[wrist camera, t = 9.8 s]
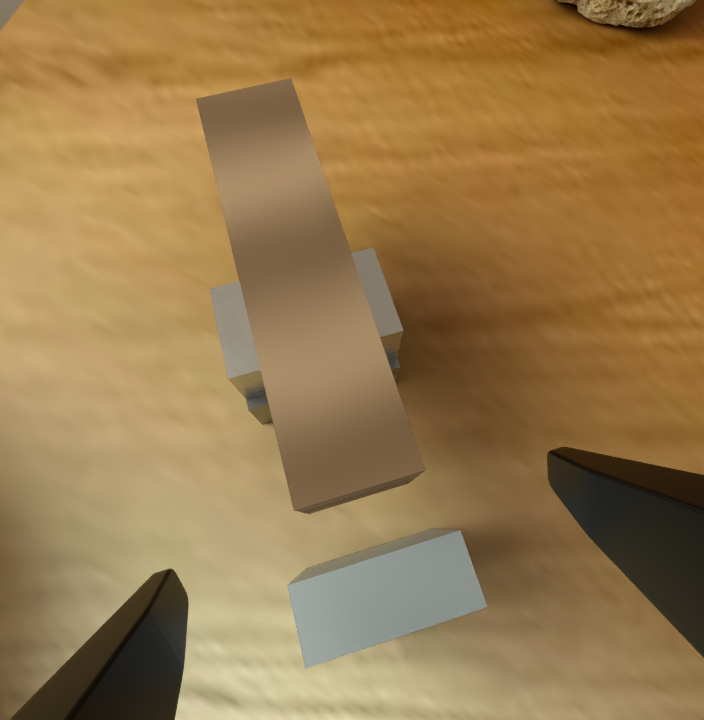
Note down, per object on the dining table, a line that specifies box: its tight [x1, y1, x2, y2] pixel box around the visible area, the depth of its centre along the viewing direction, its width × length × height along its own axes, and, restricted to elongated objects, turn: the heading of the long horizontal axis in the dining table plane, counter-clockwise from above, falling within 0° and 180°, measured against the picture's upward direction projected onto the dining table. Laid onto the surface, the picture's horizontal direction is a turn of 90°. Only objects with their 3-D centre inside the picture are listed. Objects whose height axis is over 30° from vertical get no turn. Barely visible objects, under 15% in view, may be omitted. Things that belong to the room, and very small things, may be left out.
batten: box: [196, 78, 425, 514], centre depth 16 cm, size 15×4×4 cm, turn 16°
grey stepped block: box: [210, 247, 404, 424], centre depth 21 cm, size 5×7×6 cm
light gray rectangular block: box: [287, 529, 487, 668], centre depth 17 cm, size 2×6×6 cm, turn 106°
